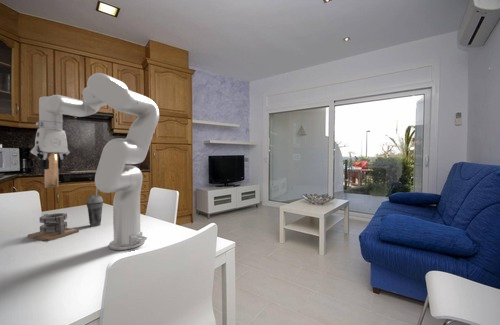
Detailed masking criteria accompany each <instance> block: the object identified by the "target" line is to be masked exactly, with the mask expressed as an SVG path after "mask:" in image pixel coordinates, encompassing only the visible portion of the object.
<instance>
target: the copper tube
mask: <svg viewBox="0 0 500 325" xmlns="http://www.w3.org/2000/svg"><path fill="white" fill-rule="evenodd" d="M46 160H48V169H44V188H45V189H53V188H55V189H56V188H59V169H58V153H48V154H47V158H46Z"/></svg>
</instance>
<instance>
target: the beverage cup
mask: <svg viewBox="0 0 500 325" xmlns="http://www.w3.org/2000/svg"><path fill="white" fill-rule="evenodd" d="M95 188H96V189H95V194H92V195H89V197H88V198H87V200H86V203H85V205H86V207H87V215H88V223H89V227H91V228H93V227H99V226H101V225H102V224H101V223H102V214H103V205H104V198H103V197H102V196H101V195H99V194H98V188H97V187H96V186H95Z"/></svg>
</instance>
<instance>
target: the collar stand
mask: <svg viewBox="0 0 500 325" xmlns="http://www.w3.org/2000/svg"><path fill="white" fill-rule="evenodd" d="M67 219H68V214H67V213H65V212H58V213H55V212H54V213H50V214H48V213H47V214H43V215H42V216H40V217H39V223H41V225H40V226H39V231H37V232H33V233H29V234H27V238H30V237H31V239H36V240H42V241H46V242H51V241H53V240H57V239H61V238H63V237H64V238H65V237H66V236H67V237H68V236H70V235H74V234H77V233H79V232H80V230H79V229H75V228H70V227H68V222H67V221H66V220H67Z"/></svg>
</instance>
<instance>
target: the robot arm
mask: <svg viewBox="0 0 500 325" xmlns="http://www.w3.org/2000/svg"><path fill="white" fill-rule="evenodd" d="M82 98H83V99H78V98H73V97H70V96H66V95H61V94H53V95H50V96H40V97H39V99H38V114H39V116H38V117H39V120H38V121H37V122H36V123H35V126H38V128H37V130H36V134H35V138H34V139H35V141H34V147H33V148H31V150H30V151H29V152H30V154H32V155H34V156H36V157H37V158H38V159H39V160H40V168H41V170H45V169H48V160H46V158H47V154H48V153H58V170H61V169H62V167H63V160H64V158H65V157H66V156H68V155H69V154H70V153H71V151H70V150H69V148H68V139H67V134H66V130H63V115H66V116H67V115H68V116H72V117H77V118H78V117H79V118H82V117H88V116H91V115H95V114H97V113H98V112H99V110H101V107H102V108H103V107H104V106H108V107H110V108H111V109H113V110H115V111H117V112H119V113H123V114H129V115H132V116H136V119H135V120H134V121H133V122H132V123H131V125H130V127H129V129H128V133H127V135H126V137H125V138H119V137H118V138H112V139H110V140H109V141H107V143H106V144H105V145H104V147H103V149H102V152H101V155H100V158H99V162H98V163H97V164H98V165H97V167H96V171H95V174H94V175H95V176H94V184H95V188H96V187H97V188H98V189H97V191H98V190H99V191H100V192H101V193H107V194H110V193H115V194H114V195H113V200H112V201H113V202H112V206H113V207H112V208H113V209H112V210H113V211H112V212H113V213H112V214H113V215H112V217H113V219H112V220H113V222H112V223H113V240H112V241H110V242H109V244H108V246H109V249H110V250H115V251H125V250H130V249H135V248H138V247H140V246H142V245H143V244H144V243H145V242H146V240H147V239H148V237H147V236H144V235H143V231H141V191H142V186H143V182H144V181H143V180H144V179H143V176H144V175H143V173H142V170H140V168H138V167H137V166H135V165H137V164H141V163H143V162H144V161H145V159H146V157H147V154H148V152H149V148H150V145H151V143H152V139H153V136H154V133H155V131H156V128H157V125H158V124H159V121H160V110H159V107H158V105H157V104H156V102H155V101H154V100H152V99H151V98H150V97H148V96H146V95H144V94H142V93H138V92H135V91H133V90H131V89H129V87H128V86H127V84H126V83H124V82H123V81H122V80H120V79H118V78H115V77H114V76H113V77H112V76H111V75H108V74H106V73H102V72H95V73H94V74H92V75H90V76H89V77H88V79H87V84H86V87H85V88H83V90H82Z"/></svg>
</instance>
